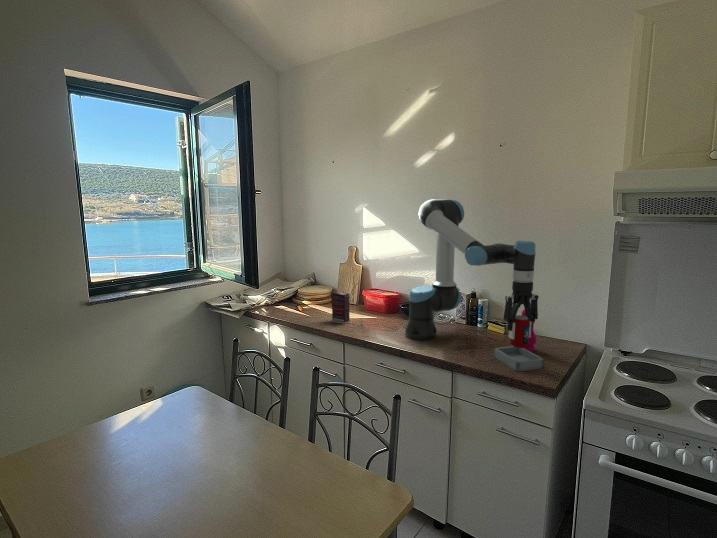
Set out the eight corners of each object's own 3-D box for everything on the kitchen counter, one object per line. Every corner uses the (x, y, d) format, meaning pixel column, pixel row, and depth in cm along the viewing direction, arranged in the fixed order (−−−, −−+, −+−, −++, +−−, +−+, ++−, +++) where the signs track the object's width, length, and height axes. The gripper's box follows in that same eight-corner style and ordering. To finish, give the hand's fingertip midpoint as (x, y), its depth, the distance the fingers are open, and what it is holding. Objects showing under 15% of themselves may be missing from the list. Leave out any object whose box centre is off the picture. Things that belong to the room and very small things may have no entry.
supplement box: (350, 321, 219) (349, 293, 216) (344, 324, 215) (344, 294, 212) (337, 319, 223) (336, 291, 221) (331, 321, 219) (331, 292, 217)
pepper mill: (520, 345, 183) (523, 302, 179) (537, 349, 178) (541, 304, 175) (515, 350, 177) (518, 305, 174) (532, 353, 173) (536, 308, 169)
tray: (493, 356, 170) (493, 348, 169) (517, 353, 173) (518, 345, 173) (517, 371, 155) (517, 362, 154) (543, 368, 158) (544, 359, 157)
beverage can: (529, 349, 159) (531, 320, 157) (511, 348, 160) (513, 318, 158) (526, 344, 165) (528, 315, 163) (508, 342, 167) (510, 314, 165)
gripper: (506, 283, 152) (503, 342, 156) (551, 281, 157) (546, 338, 161) (495, 280, 160) (492, 336, 163) (537, 277, 165) (534, 332, 168)
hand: (519, 337), depth 162 cm, fingers closed on beverage can, 7 cm apart
